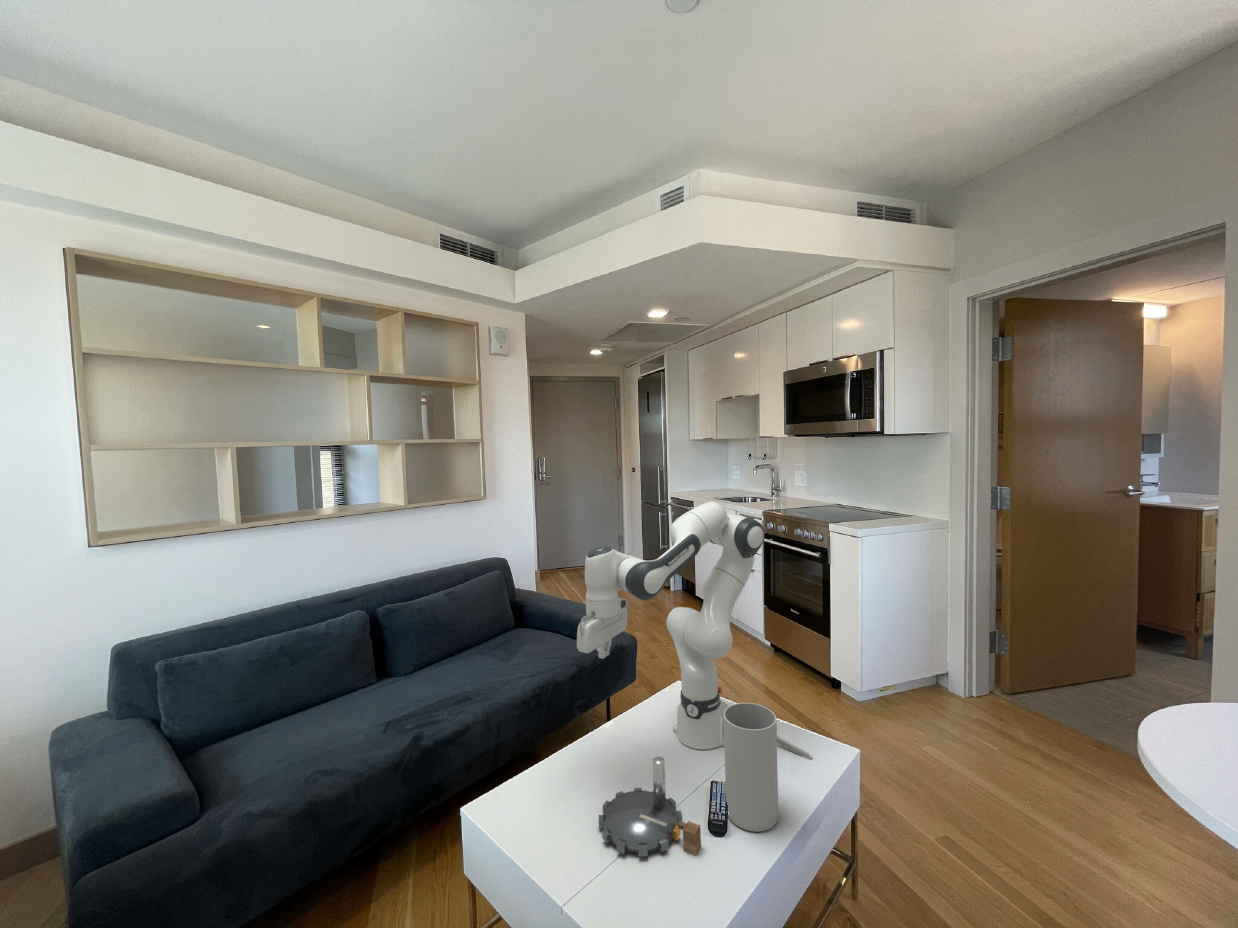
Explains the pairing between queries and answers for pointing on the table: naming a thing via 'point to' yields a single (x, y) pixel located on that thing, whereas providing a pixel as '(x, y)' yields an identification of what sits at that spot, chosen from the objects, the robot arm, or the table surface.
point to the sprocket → (642, 817)
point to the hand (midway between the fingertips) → (604, 656)
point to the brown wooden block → (690, 837)
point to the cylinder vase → (751, 766)
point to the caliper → (793, 748)
